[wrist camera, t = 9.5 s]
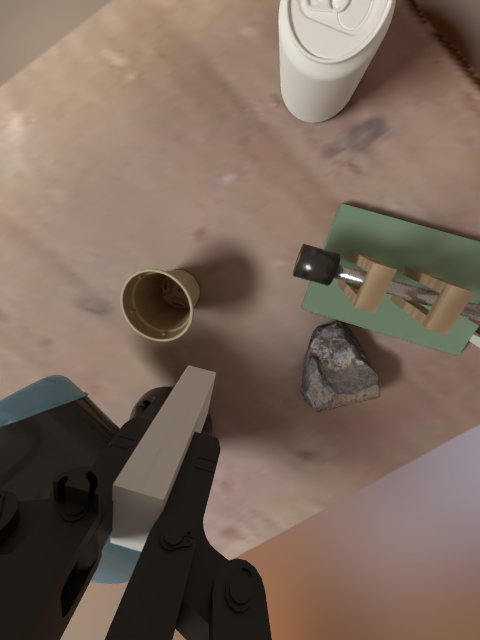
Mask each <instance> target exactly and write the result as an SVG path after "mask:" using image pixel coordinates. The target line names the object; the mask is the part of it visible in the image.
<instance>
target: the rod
mask: <svg viewBox="0 0 480 640" xmlns="http://www.w3.org/2000/svg"><path fill="white" fill-rule="evenodd" d="M340 258H341V256H340V254H337V253H334V252H330V251H327V250H323V249H320V248H317V247H313V246H310V245H306V244H303V245H302V247H301V250H300V252H299V255H298V258H297V261H296V264H295V267H294V271H293V276H295V277H299V278H302V279H306V280H309V281H312V282H316V283H319V284H322V285H326V286H329V285H330V284H331V283H332V281H333V279H334V278H335V279H338V280H341V281H345V282H348V283H352V284H355V285H358V286H361V285H362V283H363V281H364V278H365V276H366V274H367V272H365V271H361V270H358V269H354V268H351V267H347V266H344V265H341V264H340ZM386 294H389V295H392V296H396V297H399V298H403V299H406V300H409V301H413V302H416V303H420V304H423V305H427V306H430V307H432V306H433V304H434V302H435V301H436V299H437V297H438V296H439V294H440V293H437V292H433V291H430V290H427V289H423V288H420V287H416V286H413V285H409V284H406V283H402V282H399V281H396V280H392V281H391V283H390V285H389V287H388V289H387V291H386ZM460 315H461V316H464V317H467V318H469V319H468V320H470V321H472V322H473V323H475V324H477V325H479V326H480V302H479V304H475V303H471V302H468V303H467V305H466V306H465V308H464V309H463V311H462V312H461V314H460Z"/></svg>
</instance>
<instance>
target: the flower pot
mask: <svg viewBox="0 0 480 640" xmlns="http://www.w3.org/2000/svg"><path fill="white" fill-rule="evenodd" d="M165 281H167V287H166V289H165V287H164V285H165ZM179 289H180V290H181V291H180V292H179V291H178V290H179ZM199 295H200V288H199V285H198V283H197V281H196V280H195V278H194V277H193V276H192V275H191V274H190V273H188V272H186V271H183V270H172V271H162V270H159V269H144V270H140V271H137V272H135V273H134V274H132V275H131V276H130V277H129V278H128V279H127V280H126V281H125V283H124V285H123V288H122V290H121V298H120V300H121V308H122V312H123V314H124V316H125V318H126V320H127V322H128V323H129V324H130V326H131V327H132V328H133V329H134V330H135V331H136V332H138V333H139V334H140V335H142V336H144V337H146V338H148V339H151V340H154V341H163V342H164V341H171V340H174V339H177V338H179V337H180V336H182V335H183V334H184V333H185V332H186V331H187V330H188V328H189V327H190V324H191V322H192V319H193V309H194V307H195V305H196V303H197V301H198V299H199ZM174 303H177V304H181V306H176V305H175V304H174Z"/></svg>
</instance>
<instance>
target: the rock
mask: <svg viewBox="0 0 480 640" xmlns="http://www.w3.org/2000/svg"><path fill="white" fill-rule="evenodd" d="M300 391H301V393H302V395H303V397H304V401H305V402H306V403H307V404H309V405H310V406H311V407H312V408H313V409H315V410H316V411H317V412H318V411H319V412H320V411H321V410H328V409H330V410H331V409H333V408H336V407H339V406H346V405H349V404H353V403H357V402H362V401H366V400H371V399H375V398H378V397H380V390H379V382H378V375H377V373H376V372H375V370H374V369H373V368H372V366H371V364H370V362H369V360H368V358H367V357H366V355H365V353H364V351H363V350H362V349H361V347H360V345H359V343H358V342H357V340H356V338H355V337H354V335H353V333H352V332H351V331H350V329H348V328H346V327H345V326H344V325H343V324H341V322H340V321H336V322H333V323H331V324H328V325H326V326H324V325H323V326H319V327H317V328H316V329H315V330H314V331H313V334H312V336H311V339H310V343H309V346H308V350H307V352H306V354H305V362H304V365H303V376H302V386H301V389H300Z"/></svg>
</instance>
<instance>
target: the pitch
mask: <svg viewBox="0 0 480 640" xmlns="http://www.w3.org/2000/svg"><path fill="white" fill-rule="evenodd" d="M323 250H327V251H330V252H334V253H337V254H340V256H341V258H340V264H341V265H344V266H347V267H351V268H354V269H358V270H361V271H365V270H364V269H362V268H361V267H359V266H358V265H356V264H355V263H353V262H352V261H350V260H349V259H347V257H348V255H349V252H350V251H354V252H357V253H361V254H364V255H367V256H369V257H371V258H373V259H376V260H378V261H380V262H382V263H384V264H386V265H388V266H390V267H393V268H395V269H397V271H396V273H395V275H394V277H393V279H392V280H396V281H399V282H402V283H406V284H409V285H413V286H416V287H420V288H423V289H427V290H430V291H433V292H437V291H435V290H433V289H431V288H429V287H427V286H425V285H423V284H421V283H419V282H417V281H415V280H413V279H411V278H408V277H406V276H404V275H402V274H401V273H402V271H403V269H404V267H405V266H406V267H410V268H413V269H416V270H420V271H423V272H425V273H428V274H430V275H433V276H435V277H438V278H440V279H443V280H445V281H448V282H451V283H453V284H456V285H458V286H461V287H463V288H466V289H468V290H471V291H473V292H474V294H473V295H472V297H471V299H470V300H469V302H471V303H475V304H479V302H480V242H478V241H475V240H471V239H468V238H464V237H461V236H457V235H453V234H450V233H446V232H443V231H439V230H435V229H432V228H428V227H425V226H421V225H418V224H414V223H410V222H407V221H403V220H400V219H396V218H392V217H389V216H385V215H382V214H378V213H375V212H371V211H367V210H364V209H360V208H357V207H353V206H349V205H346V204H340V206H339V208H338V211H337V214H336V216H335V219H334V221H333V224H332V227H331V229H330V232H329V235H328V237H327V240H326V242H325V245H324V248H323ZM365 272H367V271H365ZM337 281H338V279H335V278H334V279H333V281H332V283H331V284H330V285H329V286H326V285H322V284H319V283H316V282H312V281H311V282H310V285H309V287H308V290H307V292H306V295H305V298H304V300H303V303H302V306H301V307H302V309H303V310H306V311H309V312H312V313H316V314H319V315H322V316H326V317H329V318H332V319H336V320H339V321H342V322H346V323H349V324H352V325H356V326H359V327H362V328H366V329H369V330H372V331H375V332H379V333H382V334H385V335H389V336H392V337H395V338H399V339H402V340H405V341H409V342H412V343H415V344H419V345H422V346H425V347H429V348H432V349H435V350H438V351H442V352H445V353H448V354H452V355H455V356H459V354H460V353H461V351H462V350H463V349H464V347H465V346H466V344H467V343H468V341H469V340H470V339H471V337H472V336H473V334H474V333H475V331H476V330H477V329H478V327H479V325H477V324H475V323H473V322H472V321H470V320H468V319H469V318H467V317H464V316H461V315H459V317H458V318H457V320H456V321H455V323H454V325H453V326H452V328H451V329H450V331H449V332H448V334H447V335H446V334H443V333H439V332H436V331H433V330H429V329H426V328H425V327H424V326H422V325H421V324H420V323H419V322H417V321H416V320H415V319H413V318H412V317H411V316H410V315H408V314H407V313H406V312H405V311H403V310H402V309H401V308H400V307H398V306H397V305H396V304H394V303H393V302H392V301H391V300H389V299H388V298H389V296H390V295H389V294H386V293H385V295H384V297H383V299H382V301H381V303H380V305H379V307H378V309H377V311H376V313H372V312H369V311H366V310H362V309H359V308H356V307H354V305H353V304H352V303H351V302H350V300H349V299H348V298H347V296H346V295H345V294H344V293H343V291H342V290H341V289H340V287H339V286H338V285H337ZM437 293H439V292H437ZM419 304H420V303H419ZM420 305H422V306H423V307H425V308H426V309H428V310H430V309H431V307H430V306H427V305H423V304H420Z"/></svg>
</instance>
